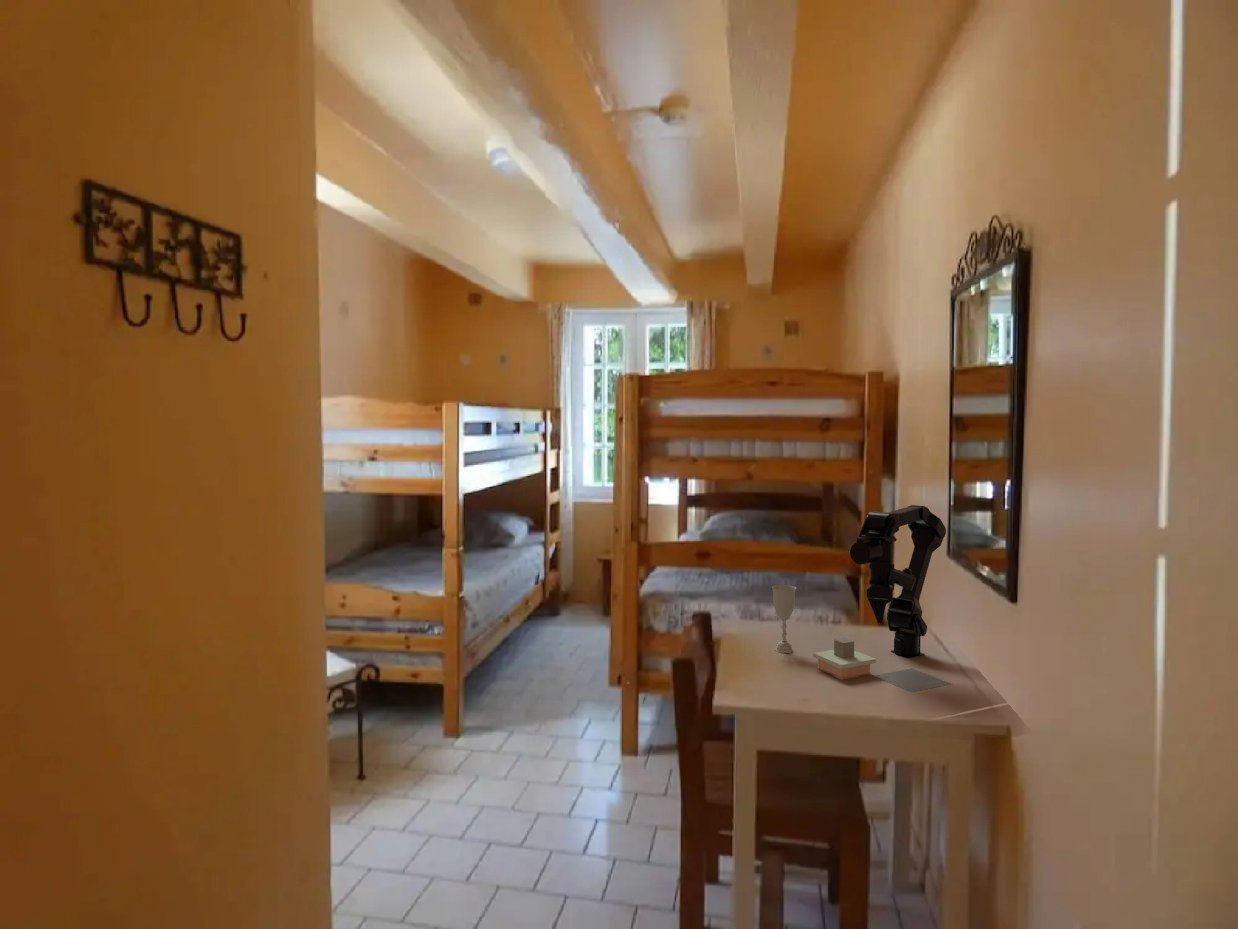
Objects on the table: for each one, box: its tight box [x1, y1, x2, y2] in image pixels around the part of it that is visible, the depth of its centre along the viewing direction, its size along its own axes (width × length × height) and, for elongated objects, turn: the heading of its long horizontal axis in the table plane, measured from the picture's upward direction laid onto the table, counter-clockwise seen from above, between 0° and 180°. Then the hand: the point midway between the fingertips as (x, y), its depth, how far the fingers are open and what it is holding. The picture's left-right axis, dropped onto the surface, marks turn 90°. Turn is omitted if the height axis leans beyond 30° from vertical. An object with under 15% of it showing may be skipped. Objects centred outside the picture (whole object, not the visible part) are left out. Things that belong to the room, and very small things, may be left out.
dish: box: [817, 659, 871, 681], centre depth 194 cm, size 9×9×4 cm
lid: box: [812, 637, 877, 669], centre depth 194 cm, size 11×11×5 cm
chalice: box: [771, 584, 797, 654], centre depth 214 cm, size 7×7×18 cm
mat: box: [872, 668, 952, 693], centre depth 188 cm, size 13×13×1 cm
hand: (881, 618), depth 200 cm, fingers open, 9 cm apart
